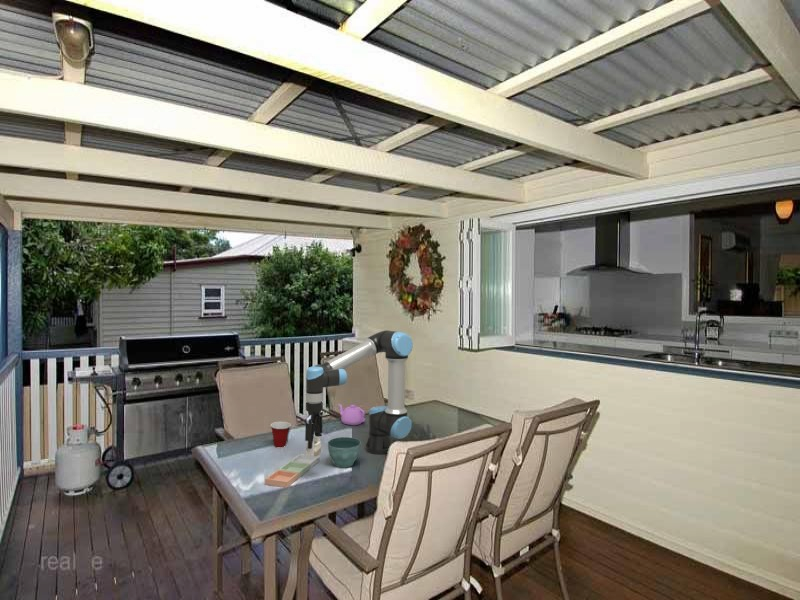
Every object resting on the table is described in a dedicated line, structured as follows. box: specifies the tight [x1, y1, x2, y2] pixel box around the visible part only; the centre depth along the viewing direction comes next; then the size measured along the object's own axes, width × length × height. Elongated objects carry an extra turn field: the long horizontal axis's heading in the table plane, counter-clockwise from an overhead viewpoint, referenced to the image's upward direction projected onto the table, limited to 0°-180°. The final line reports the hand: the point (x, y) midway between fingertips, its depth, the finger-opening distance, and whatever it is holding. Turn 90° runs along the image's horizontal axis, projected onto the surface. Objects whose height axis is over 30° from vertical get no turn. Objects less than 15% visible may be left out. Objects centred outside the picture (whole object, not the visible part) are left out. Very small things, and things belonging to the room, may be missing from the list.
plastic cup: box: [270, 421, 292, 448], centre depth 245 cm, size 11×11×12 cm
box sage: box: [277, 460, 311, 479], centre depth 211 cm, size 11×11×2 cm
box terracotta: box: [264, 469, 300, 489], centre depth 200 cm, size 11×11×2 cm
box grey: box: [290, 453, 321, 470], centre depth 221 cm, size 11×11×2 cm
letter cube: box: [305, 440, 322, 456], centre depth 204 cm, size 5×5×5 cm
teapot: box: [337, 403, 366, 426], centre depth 292 cm, size 20×13×12 cm, turn 68°
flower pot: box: [327, 436, 362, 468], centre depth 222 cm, size 16×16×11 cm
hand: (313, 452), depth 204 cm, fingers closed on letter cube, 5 cm apart
